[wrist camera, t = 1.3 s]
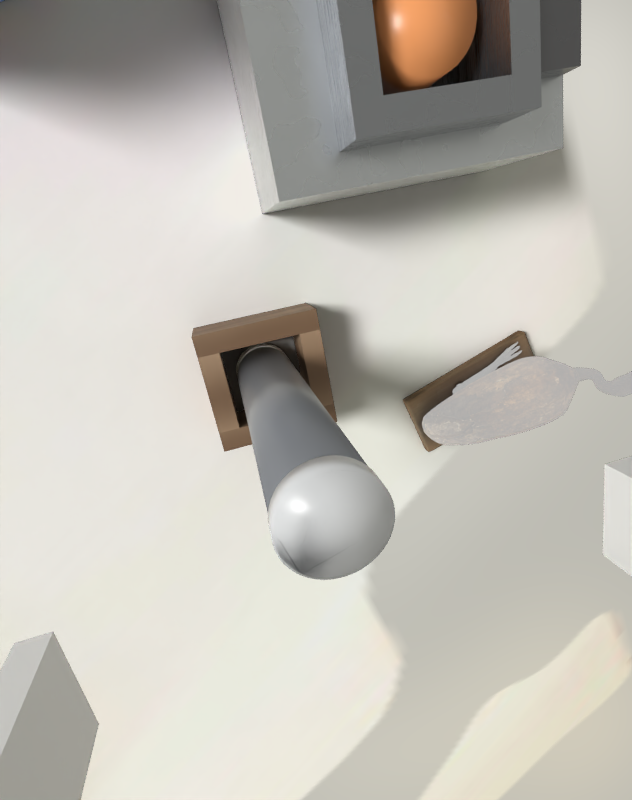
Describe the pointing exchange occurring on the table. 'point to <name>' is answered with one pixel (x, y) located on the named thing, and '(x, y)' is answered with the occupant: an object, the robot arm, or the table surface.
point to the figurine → (500, 395)
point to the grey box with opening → (391, 97)
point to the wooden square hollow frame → (251, 332)
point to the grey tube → (310, 473)
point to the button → (421, 40)
